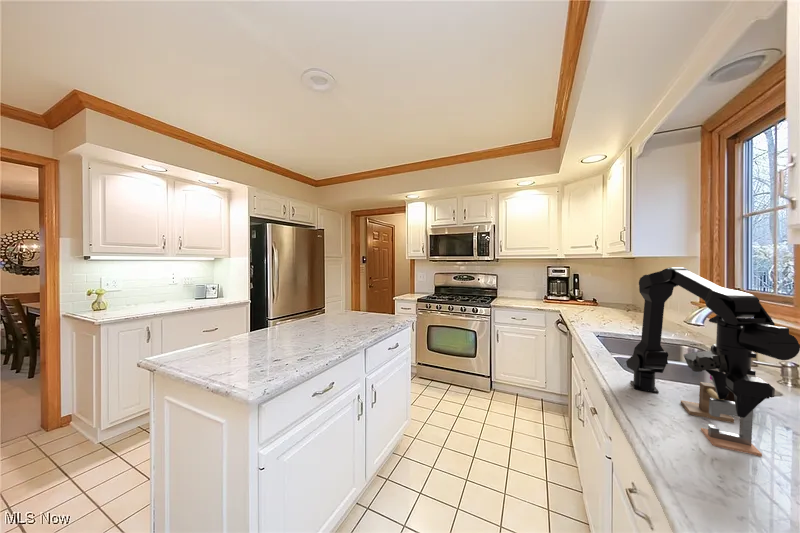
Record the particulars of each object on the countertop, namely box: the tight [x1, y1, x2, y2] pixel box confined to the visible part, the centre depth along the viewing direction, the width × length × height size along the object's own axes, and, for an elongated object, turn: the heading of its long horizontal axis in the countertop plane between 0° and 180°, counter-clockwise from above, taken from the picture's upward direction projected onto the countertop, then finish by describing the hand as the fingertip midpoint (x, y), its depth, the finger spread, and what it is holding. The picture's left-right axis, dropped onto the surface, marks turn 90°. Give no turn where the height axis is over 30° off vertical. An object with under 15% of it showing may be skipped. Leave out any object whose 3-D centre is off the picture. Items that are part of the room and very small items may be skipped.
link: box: [707, 398, 754, 446], centre depth 71 cm, size 2×7×10 cm, turn 61°
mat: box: [700, 427, 763, 457], centre depth 72 cm, size 7×8×1 cm
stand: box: [680, 381, 735, 424], centre depth 81 cm, size 16×9×9 cm, turn 151°
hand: (730, 407), depth 71 cm, fingers open, 9 cm apart
